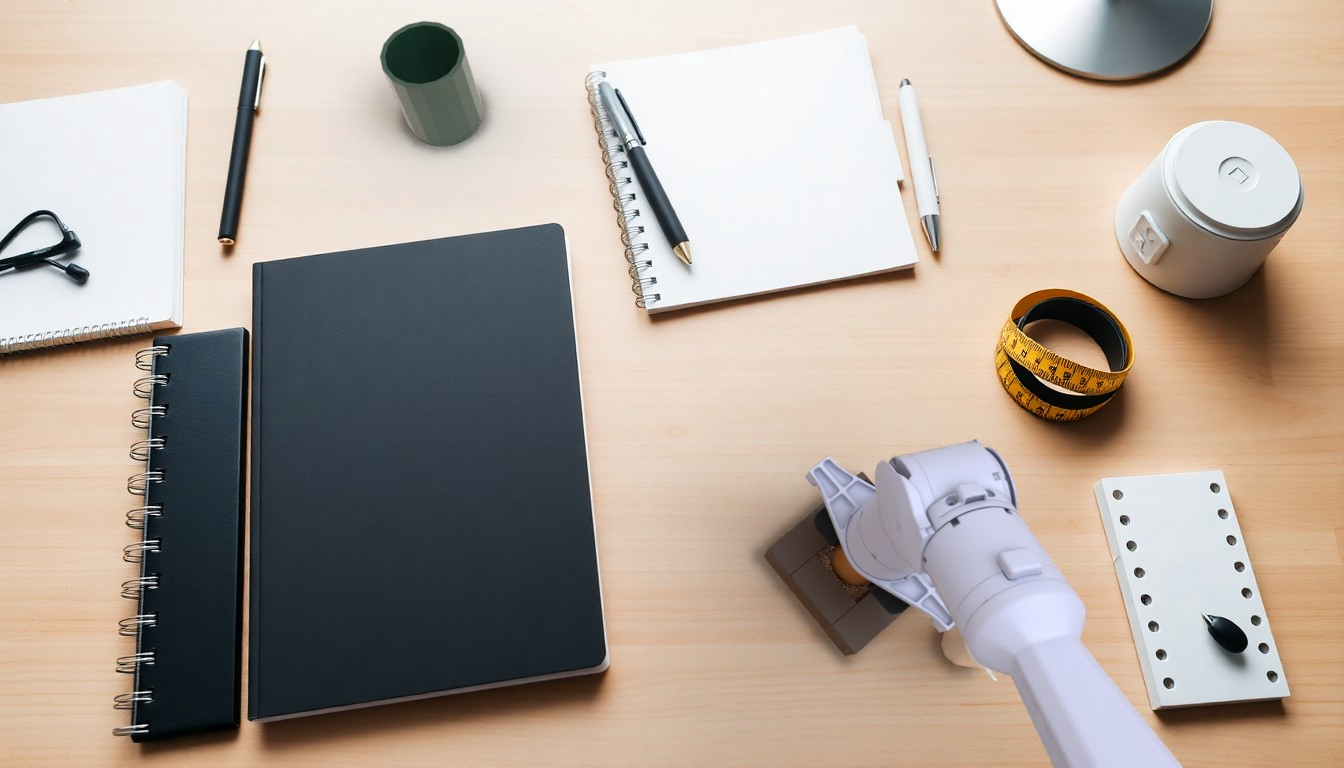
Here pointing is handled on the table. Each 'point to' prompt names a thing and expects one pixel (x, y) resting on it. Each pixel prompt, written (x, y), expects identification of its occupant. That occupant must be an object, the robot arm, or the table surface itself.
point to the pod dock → (826, 588)
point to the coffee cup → (433, 82)
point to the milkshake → (960, 651)
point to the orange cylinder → (845, 568)
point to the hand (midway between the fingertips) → (858, 559)
